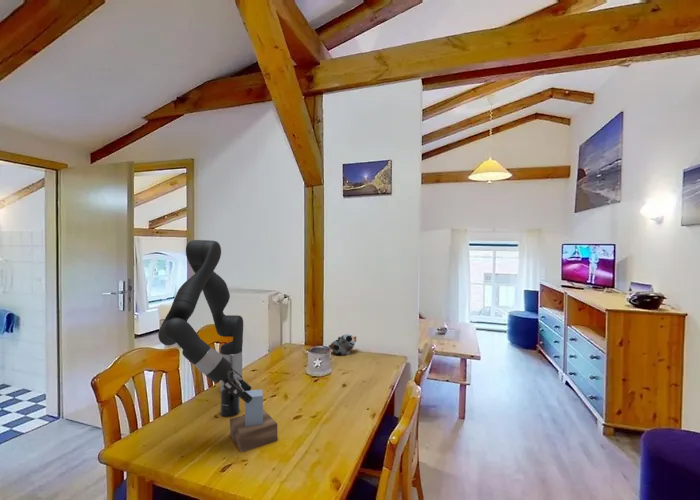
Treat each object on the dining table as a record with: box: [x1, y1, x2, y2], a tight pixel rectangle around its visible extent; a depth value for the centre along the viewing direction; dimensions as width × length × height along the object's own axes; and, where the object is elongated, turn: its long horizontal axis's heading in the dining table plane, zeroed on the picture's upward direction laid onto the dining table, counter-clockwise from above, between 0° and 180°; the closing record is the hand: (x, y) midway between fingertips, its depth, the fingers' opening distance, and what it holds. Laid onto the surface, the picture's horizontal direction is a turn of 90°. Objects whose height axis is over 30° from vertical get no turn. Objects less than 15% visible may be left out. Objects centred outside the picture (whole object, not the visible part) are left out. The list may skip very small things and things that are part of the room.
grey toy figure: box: [328, 334, 357, 357], centre depth 216 cm, size 15×12×14 cm
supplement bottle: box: [220, 388, 241, 417], centre depth 140 cm, size 7×7×12 cm
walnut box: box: [229, 409, 278, 453], centre depth 122 cm, size 12×12×6 cm
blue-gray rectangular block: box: [244, 388, 264, 427], centre depth 121 cm, size 6×6×10 cm
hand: (249, 395), depth 121 cm, fingers open, 8 cm apart
